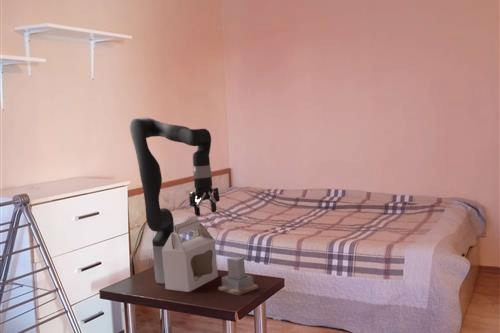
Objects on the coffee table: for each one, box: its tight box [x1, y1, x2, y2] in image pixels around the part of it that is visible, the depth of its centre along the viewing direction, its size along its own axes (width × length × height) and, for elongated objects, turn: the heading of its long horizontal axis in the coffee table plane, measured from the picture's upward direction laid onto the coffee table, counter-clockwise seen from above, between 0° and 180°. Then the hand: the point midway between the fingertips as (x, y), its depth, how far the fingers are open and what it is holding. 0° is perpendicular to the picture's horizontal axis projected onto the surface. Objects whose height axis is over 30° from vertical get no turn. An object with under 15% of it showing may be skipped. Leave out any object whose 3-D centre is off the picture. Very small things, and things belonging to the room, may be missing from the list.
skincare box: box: [226, 256, 246, 280], centre depth 216 cm, size 6×4×12 cm
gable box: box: [162, 217, 219, 293], centre depth 229 cm, size 22×13×28 cm, turn 149°
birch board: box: [217, 283, 259, 296], centre depth 217 cm, size 13×11×1 cm
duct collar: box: [221, 273, 255, 291], centre depth 217 cm, size 10×8×4 cm
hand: (205, 214), depth 219 cm, fingers open, 8 cm apart
